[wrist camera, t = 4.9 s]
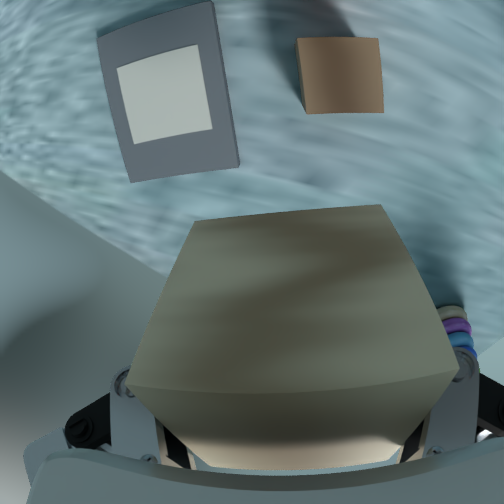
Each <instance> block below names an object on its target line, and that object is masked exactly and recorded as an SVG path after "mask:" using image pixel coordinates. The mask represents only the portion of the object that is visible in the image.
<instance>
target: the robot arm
mask: <svg viewBox="0 0 504 504" xmlns="http://www.w3.org/2000/svg"><path fill="white" fill-rule="evenodd" d="M452 348H453V351H454V353H455V356H456V359H457V362H458V364H459V367H460V369H459V370H458V372H457V373H456V375H455V376H454V378H453V379H452V381H451V382H450V384H449V385H448V387H447V388H446V390H445V391H444V393H443V394H442V395H441V397H440V398H439V400H438V401H437V402H436V404H435V405H434V406H433V408H432V409H431V410H430V411H429V413H428V414H427V415H426V416H425V418H424V419H423V421H422V422H421V423H420V424H419V426H418V427H417V428H416V429H415V430H414V432H413V433H412V434H411V435H410V436H409V437H408V439H407V440H406V441H405V442H404V443H403V444H402V445H401V447H400V451H399V454H398V458H397V461H396V464H394V465H389V466H384V467H378V468H372V469H366V470H359V471H351V472H341V473H331V474H318V475H297V476H259V475H240V474H226V473H215V472H207V471H198V470H196V466H195V462H194V458H193V454H192V451H191V450H190V449H189V448H188V447H187V446H186V445H184V444H183V443H182V442H181V441H180V440H179V439H178V438H177V437H176V436H175V435H173V434H172V433H171V432H170V431H169V430H168V429H167V428H166V427H165V426H164V425H163V424H162V423H161V422H160V421H159V420H158V419H157V418H156V417H155V416H154V415H153V414H152V413H151V412H150V411H149V410H148V409H147V408H146V407H145V406H144V405H143V404H142V403H141V402H140V401H139V400H138V399H137V398H136V396H135V395H134V394H133V393H132V392H131V391H130V390H129V389H128V388H127V386H126V385H125V384H124V383H125V381H126V378H127V375H128V373H129V370H130V368H131V365H129V366H127V367H124V368H122V369H121V370H119V371H118V372H117V373H116V374H115V375H114V377H113V379H112V381H111V385H110V392H109V393H108V394H106V395H105V396H103V397H101V398H100V399H98V400H96V401H95V402H93V403H91V404H90V405H88V406H87V407H85V408H83V409H81V410H80V411H78V412H76V413H75V414H73V416H71V417H70V418H69V420H68V421H67V423H66V426H65V428H63V427H60V428H58V429H56V430H54V431H52V432H51V433H49V434H47V435H45V436H43V437H41V438H39V439H38V440H36V441H34V442H32V443H30V444H29V445H28V446H27V447H26V449H25V451H24V455H23V457H24V463H25V467H26V471H27V474H28V478H29V482H30V485H31V489H30V493H29V496H28V499H27V503H26V504H504V386H503V385H501V384H499V383H497V382H496V381H494V380H492V379H490V378H488V377H486V376H485V375H483V374H481V373H479V364H478V361H477V359H476V357H475V356H474V355H473V354H472V353H471V352H470V351H469V350H467V349H465V348H461V347H452Z"/></svg>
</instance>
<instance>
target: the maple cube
mask: <svg viewBox="0 0 504 504" xmlns="http://www.w3.org/2000/svg"><path fill="white" fill-rule="evenodd" d="M459 369H460V367H459V364H458V362H457V359H456V356H455V353H454V351H453V348H452V346H451V343H450V340H449V338H448V335H447V333H446V331H445V328H444V326H443V323H442V321H441V319H440V316H439V314H438V312H437V310H436V307H435V305H434V303H433V301H432V299H431V296H430V294H429V292H428V290H427V288H426V286H425V284H424V282H423V280H422V278H421V276H420V274H419V272H418V270H417V268H416V266H415V264H414V262H413V260H412V258H411V256H410V255H409V253H408V251H407V249H406V247H405V245H404V243H403V242H402V240H401V238H400V236H399V235H398V233H397V231H396V229H395V228H394V226H393V224H392V222H391V221H390V219H389V217H388V216H387V214H386V212H385V211H384V209H383V207H382V206H381V204H380V205H364V206H350V207H336V208H323V209H311V210H299V211H288V212H277V213H266V214H256V215H246V216H237V217H227V218H218V219H209V220H201V221H195V222H194V224H193V226H192V228H191V230H190V232H189V234H188V236H187V238H186V241H185V243H184V245H183V247H182V249H181V251H180V253H179V255H178V257H177V260H176V262H175V264H174V266H173V268H172V270H171V273H170V275H169V277H168V279H167V281H166V284H165V286H164V288H163V290H162V293H161V295H160V297H159V300H158V302H157V304H156V307H155V309H154V311H153V314H152V316H151V318H150V320H149V323H148V325H147V328H146V330H145V332H144V335H143V337H142V340H141V343H140V345H139V347H138V350H137V353H136V355H135V357H134V360H133V362H132V365H131V368H130V370H129V373H128V375H127V378H126V381H125V383H124V384H125V385H126V386H127V388H128V389H129V390H130V391H131V392H132V393H133V394H134V395H135V396H136V398H137V399H138V400H139V401H140V402H141V403H142V404H143V405H144V406H145V407H146V408H147V409H148V410H149V411H150V412H151V413H152V414H153V415H154V416H155V417H156V418H157V419H158V420H159V421H160V422H161V423H162V424H163V425H164V426H165V427H166V428H167V429H168V430H169V431H170V432H171V433H172V434H173V435H175V436H176V437H177V438H178V439H179V440H180V441H181V442H182V443H183V444H184V445H186V446H187V447H188V448H189V449H190V450H191V451H192V452H194V453H195V454H196V455H197V456H198V457H200V458H201V459H202V460H203V461H204V462H206V463H207V464H208V465H209V466H212V467H222V468H235V469H251V470H253V469H254V470H304V469H320V468H321V469H322V468H334V467H343V466H352V465H360V464H367V463H373V462H379V461H385V460H388V459H389V458H390V457H391V456H392V455H393V454H394V453H395V452H396V451H397V450H398V449H399V447H400V446H401V445H402V444H403V443H404V442H405V441H406V440H407V439H408V437H409V436H410V435H411V434H412V433H413V432H414V430H415V429H416V428H417V427H418V426H419V424H420V423H421V422H422V421H423V419H424V418H425V416H426V415H427V414H428V413H429V411H430V410H431V409H432V408H433V406H434V405H435V404H436V402H437V401H438V400H439V398H440V397H441V395H442V394H443V393H444V391H445V390H446V388H447V387H448V385H449V384H450V382H451V381H452V379H453V378H454V376H455V375H456V373H457V372H458V370H459Z"/></svg>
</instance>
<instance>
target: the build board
mask: <svg viewBox="0 0 504 504" xmlns="http://www.w3.org/2000/svg"><path fill="white" fill-rule="evenodd" d="M97 45H98V51H99V56H100V62H101V67H102V72H103V77H104V82H105V87H106V91H107V96H108V100H109V105H110V109H111V113H112V117H113V121H114V125H115V129H116V133H117V137H118V141H119V144H120V148H121V152H122V155H123V159H124V162H125V166H126V169H127V172H128V176H129V179H130V182H131V183H134V182H140V181H146V180H151V179H157V178H164V177H170V176H177V175H184V174H191V173H198V172H206V171H214V170H222V169H231V168H239V165H240V160H239V154H238V147H237V141H236V135H235V129H234V123H233V117H232V111H231V105H230V99H229V93H228V86H227V80H226V74H225V68H224V62H223V56H222V50H221V44H220V38H219V32H218V26H217V20H216V14H215V8H214V3H213V2H212V1H207V2H202V3H198V4H194V5H190V6H186V7H182V8H179V9H175V10H172V11H168V12H165V13H162V14H158V15H155V16H152V17H149V18H146V19H144V20H141V21H138V22H135V23H133V24H130V25H127V26H125V27H122V28H120V29H117V30H115V31H113V32H110V33H108V34H106V35H103V36H101V37H99V38H97Z"/></svg>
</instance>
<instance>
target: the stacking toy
mask: <svg viewBox="0 0 504 504" xmlns="http://www.w3.org/2000/svg"><path fill="white" fill-rule="evenodd" d="M436 310H437V312H438V314H439V316H440V319H441V321H442V323H443V326H444V328H445V331H446V333H447V335H448V338H449V340H450V343H451V346H452V347H461V348H465V349H467V350H469V351H470V352H471V353H472V354H473V355H474V356H475V357H476V359H477V354H476V352H475V350H474V349H473V347H474V342H473V339H472V337H471V332H472V331H471V326H470V324H469V323H468V321H467V314H466V312H465V311H464V310H463V309H462V308H461V307H458V306H453V305H452V306H444V307H441V308H438V309H436ZM479 373H480V368H479Z"/></svg>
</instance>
